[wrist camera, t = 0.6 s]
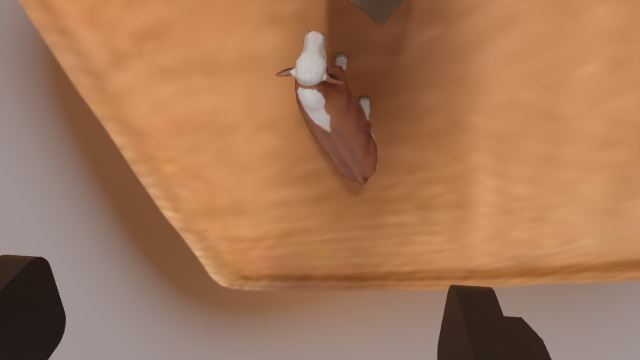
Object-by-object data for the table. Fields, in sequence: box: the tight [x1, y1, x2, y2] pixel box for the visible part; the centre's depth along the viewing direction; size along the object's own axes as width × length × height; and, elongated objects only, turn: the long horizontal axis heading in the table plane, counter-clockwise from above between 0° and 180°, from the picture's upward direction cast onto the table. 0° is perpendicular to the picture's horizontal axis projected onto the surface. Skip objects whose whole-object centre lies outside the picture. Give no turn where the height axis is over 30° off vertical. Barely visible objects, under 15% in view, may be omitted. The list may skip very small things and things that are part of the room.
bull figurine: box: [276, 31, 377, 184], centre depth 36 cm, size 4×13×8 cm, turn 21°
